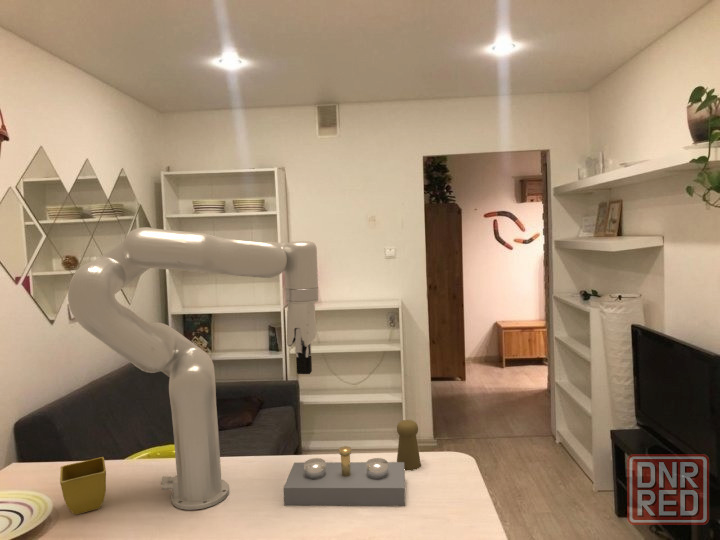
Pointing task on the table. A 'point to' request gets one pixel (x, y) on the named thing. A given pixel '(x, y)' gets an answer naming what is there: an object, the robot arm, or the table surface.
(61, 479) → the flower pot
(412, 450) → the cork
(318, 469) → the knob
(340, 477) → the mount
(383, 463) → the knob
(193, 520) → the table surface
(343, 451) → the brass shaft
